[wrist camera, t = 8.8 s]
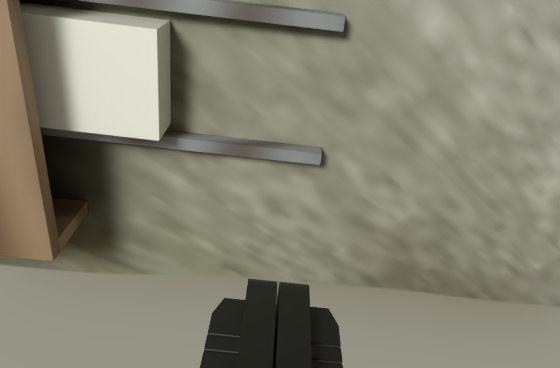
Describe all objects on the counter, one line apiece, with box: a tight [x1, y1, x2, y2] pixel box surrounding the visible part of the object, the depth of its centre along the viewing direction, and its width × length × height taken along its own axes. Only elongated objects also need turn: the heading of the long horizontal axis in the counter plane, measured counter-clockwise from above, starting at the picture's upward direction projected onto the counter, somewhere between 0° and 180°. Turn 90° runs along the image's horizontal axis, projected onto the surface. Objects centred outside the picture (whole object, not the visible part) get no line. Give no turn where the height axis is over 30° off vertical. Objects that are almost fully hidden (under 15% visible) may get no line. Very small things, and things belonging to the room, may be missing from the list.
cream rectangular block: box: [19, 2, 171, 141], centre depth 26 cm, size 12×6×3 cm, turn 84°
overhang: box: [0, 0, 346, 261], centre depth 25 cm, size 23×22×6 cm
